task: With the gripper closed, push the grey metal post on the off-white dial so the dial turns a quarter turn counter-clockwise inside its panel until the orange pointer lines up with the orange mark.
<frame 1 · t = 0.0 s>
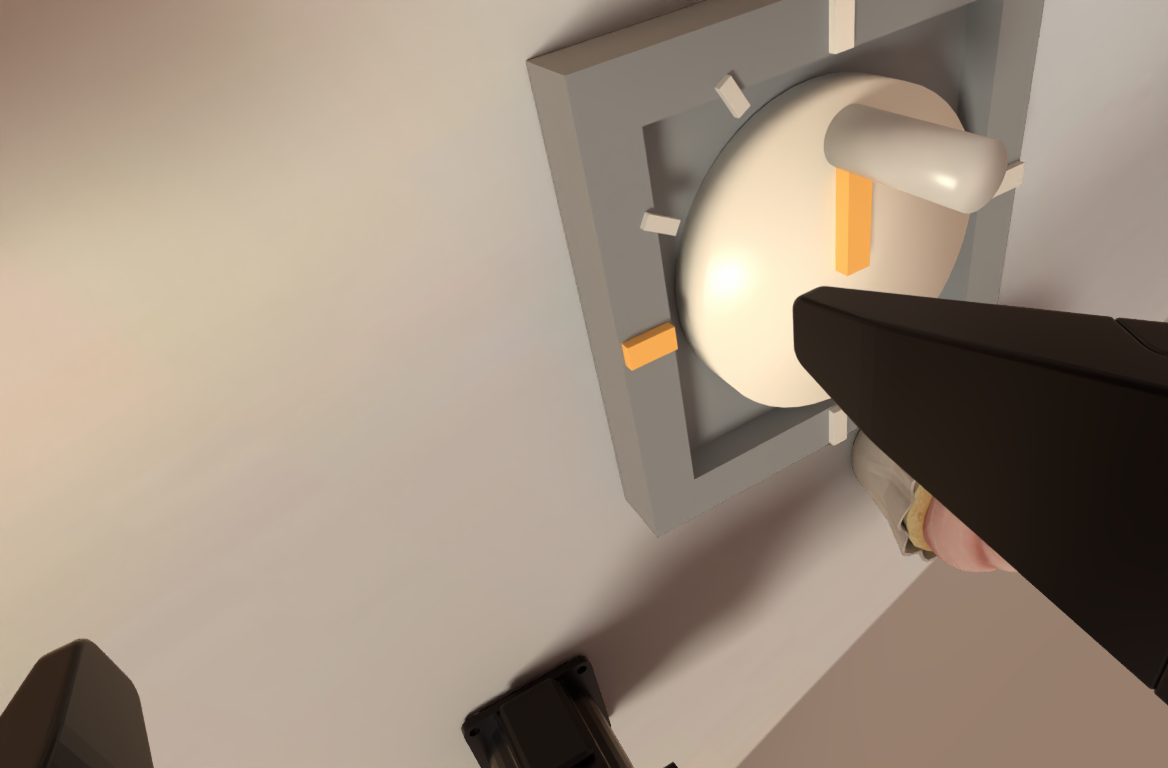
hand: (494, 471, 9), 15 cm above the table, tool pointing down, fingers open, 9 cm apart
dial panel: (789, 232, 29), on the table
dial: (880, 276, 26), point 5 cm above the table, hinge at 0.0°
cupcake: (892, 427, 39), on the table
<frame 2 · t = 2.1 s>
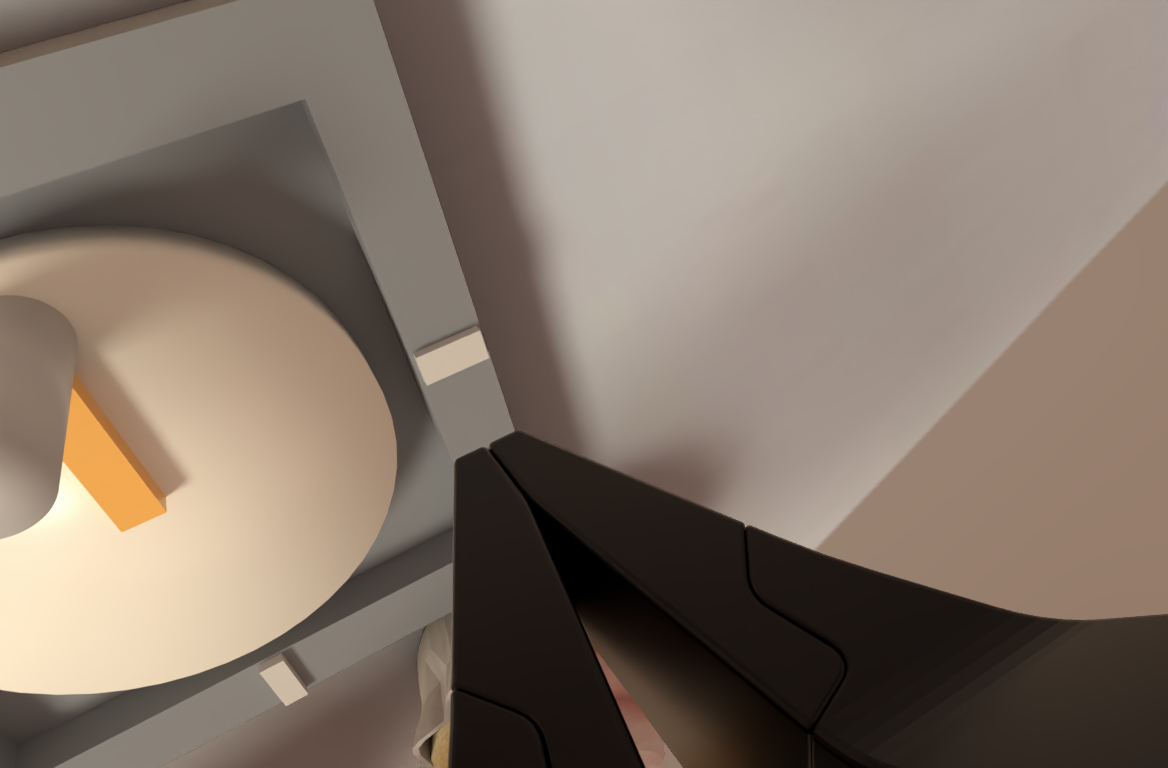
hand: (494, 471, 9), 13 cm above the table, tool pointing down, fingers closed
dial panel: (138, 431, 20), on the table
dial: (139, 544, 16), point 5 cm above the table, hinge at 0.0°
cupcake: (491, 621, 30), on the table
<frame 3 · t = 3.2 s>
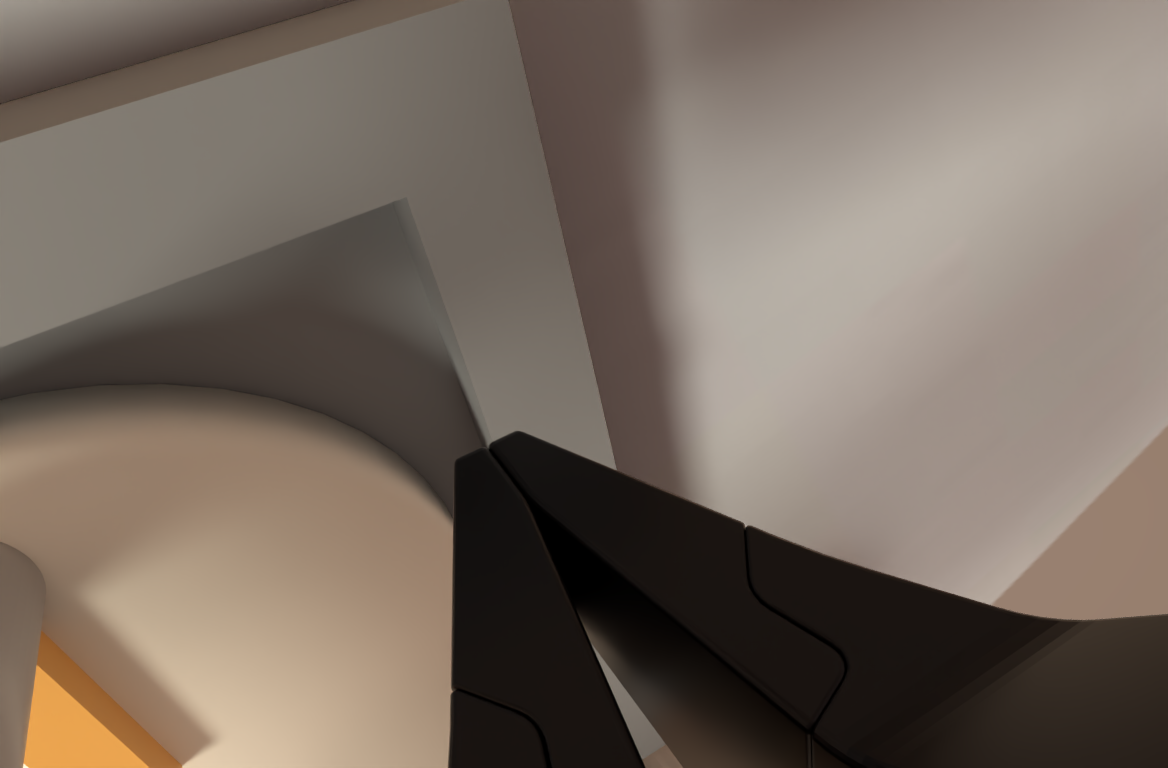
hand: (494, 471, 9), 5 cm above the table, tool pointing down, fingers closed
dial panel: (142, 634, 14), on the table
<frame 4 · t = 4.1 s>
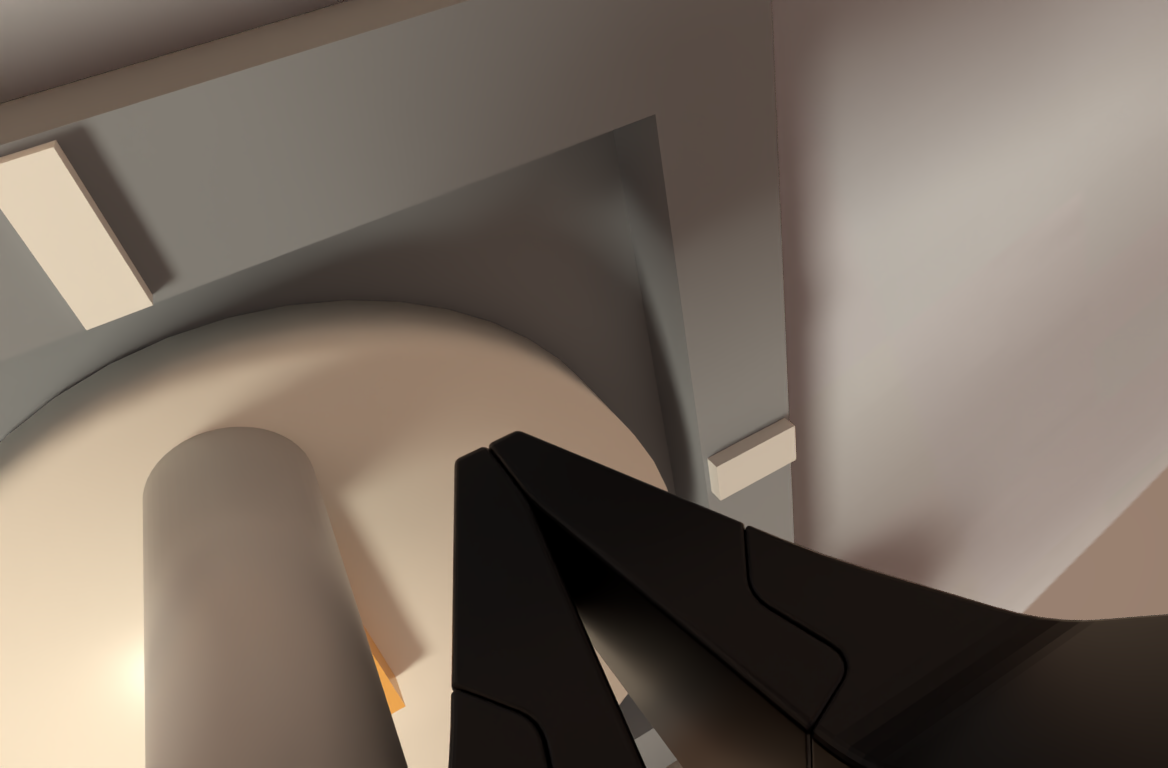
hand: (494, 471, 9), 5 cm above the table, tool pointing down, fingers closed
dial panel: (326, 562, 15), on the table
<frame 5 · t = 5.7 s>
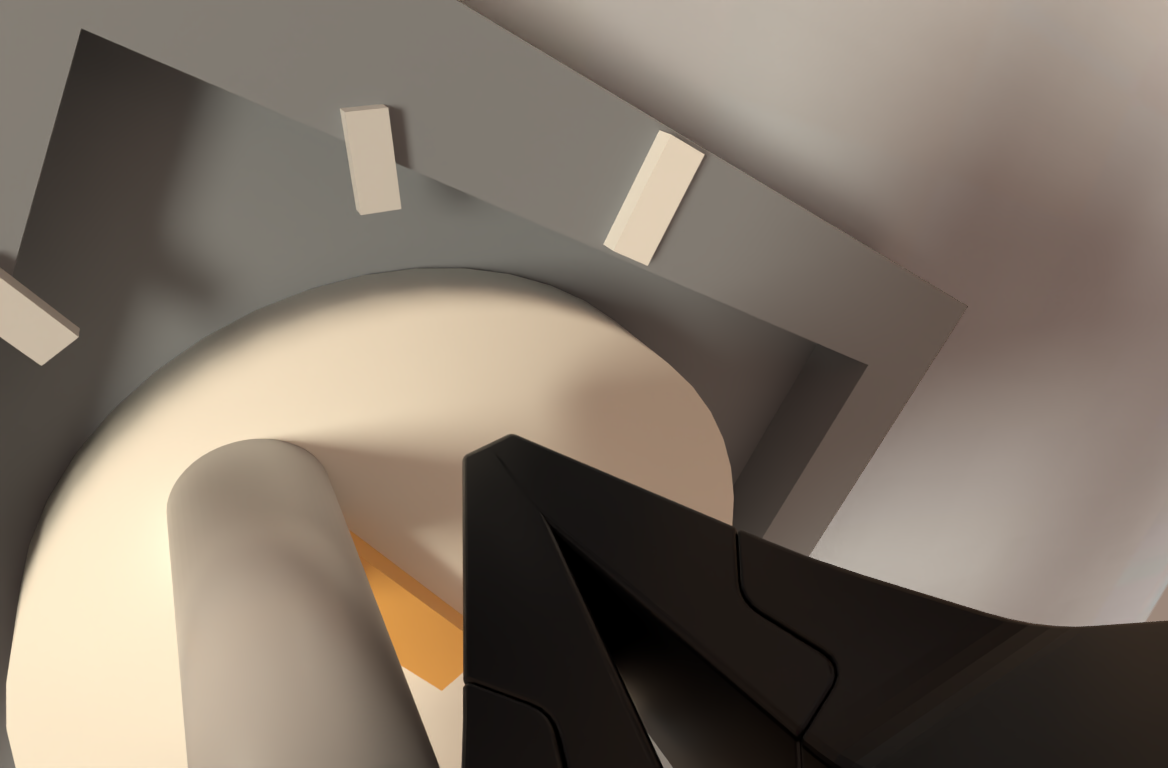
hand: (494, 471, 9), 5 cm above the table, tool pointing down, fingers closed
dial panel: (395, 530, 15), on the table
dial: (480, 713, 12), point 5 cm above the table, hinge at 60.5°, touching gripper
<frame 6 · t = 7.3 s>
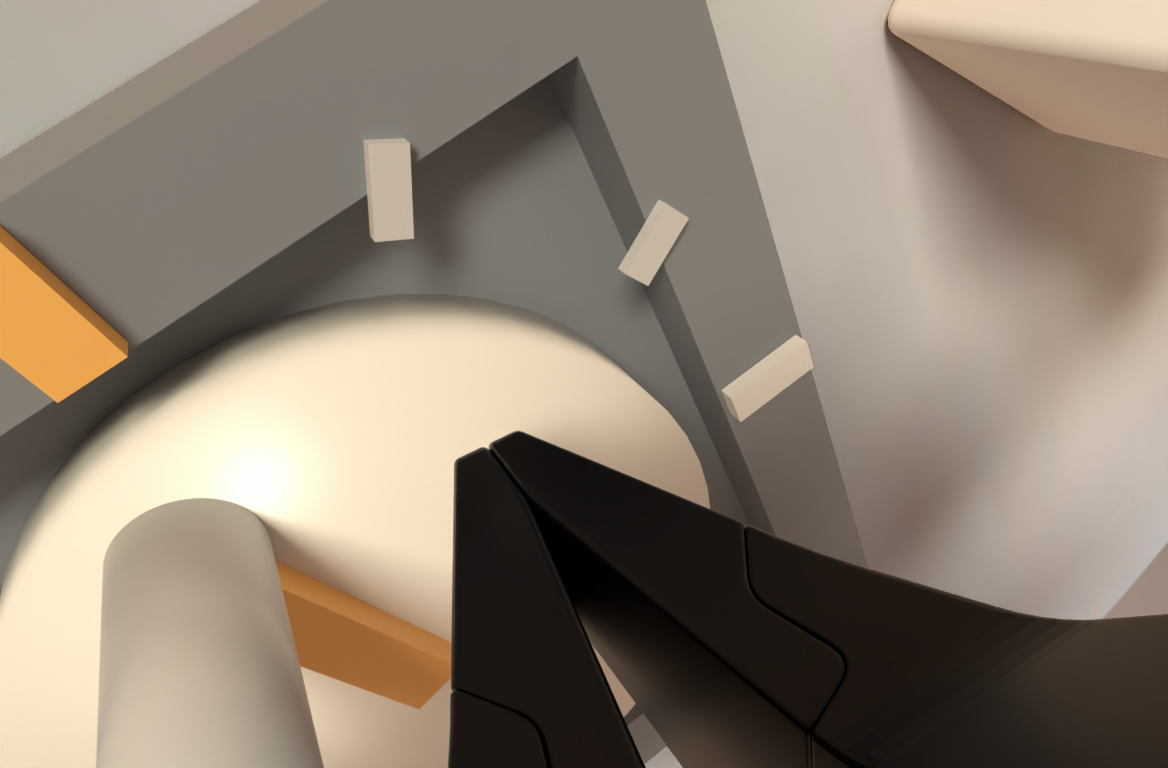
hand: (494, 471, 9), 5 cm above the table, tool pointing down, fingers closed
dial panel: (376, 545, 15), on the table
dial: (451, 734, 12), point 5 cm above the table, hinge at 102.1°
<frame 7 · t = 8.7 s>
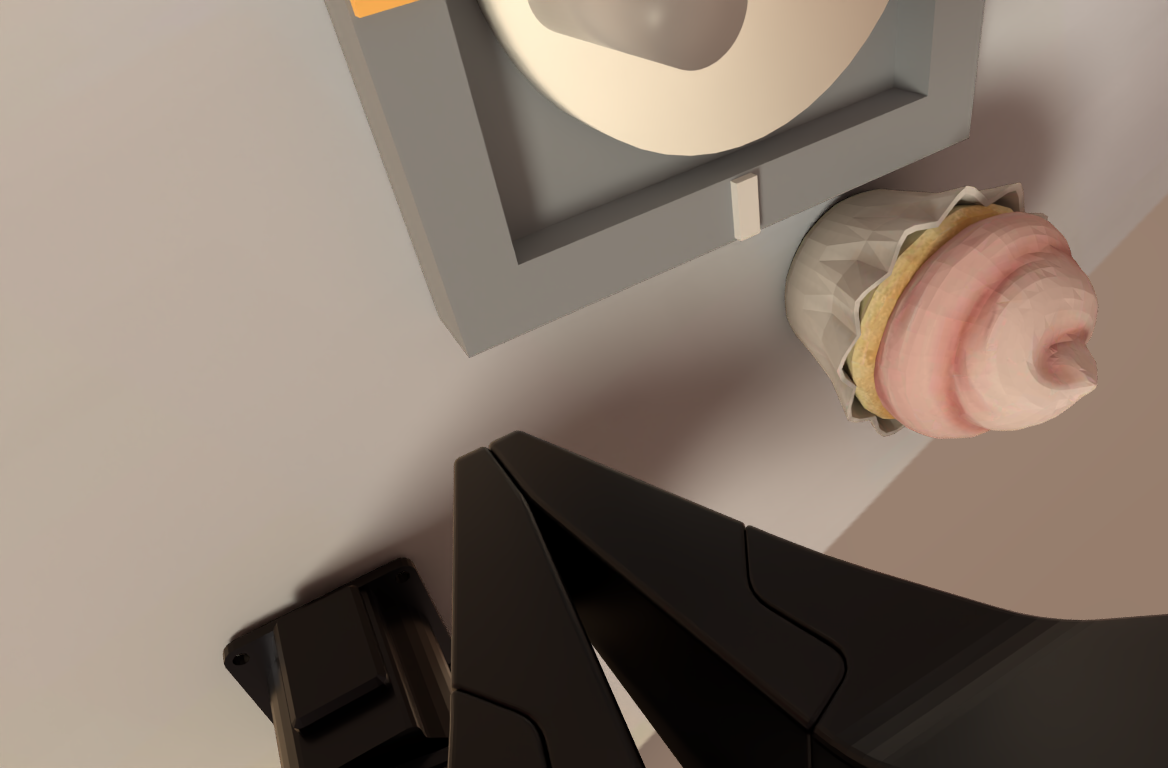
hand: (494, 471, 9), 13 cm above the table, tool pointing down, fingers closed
cupcake: (841, 265, 29), on the table
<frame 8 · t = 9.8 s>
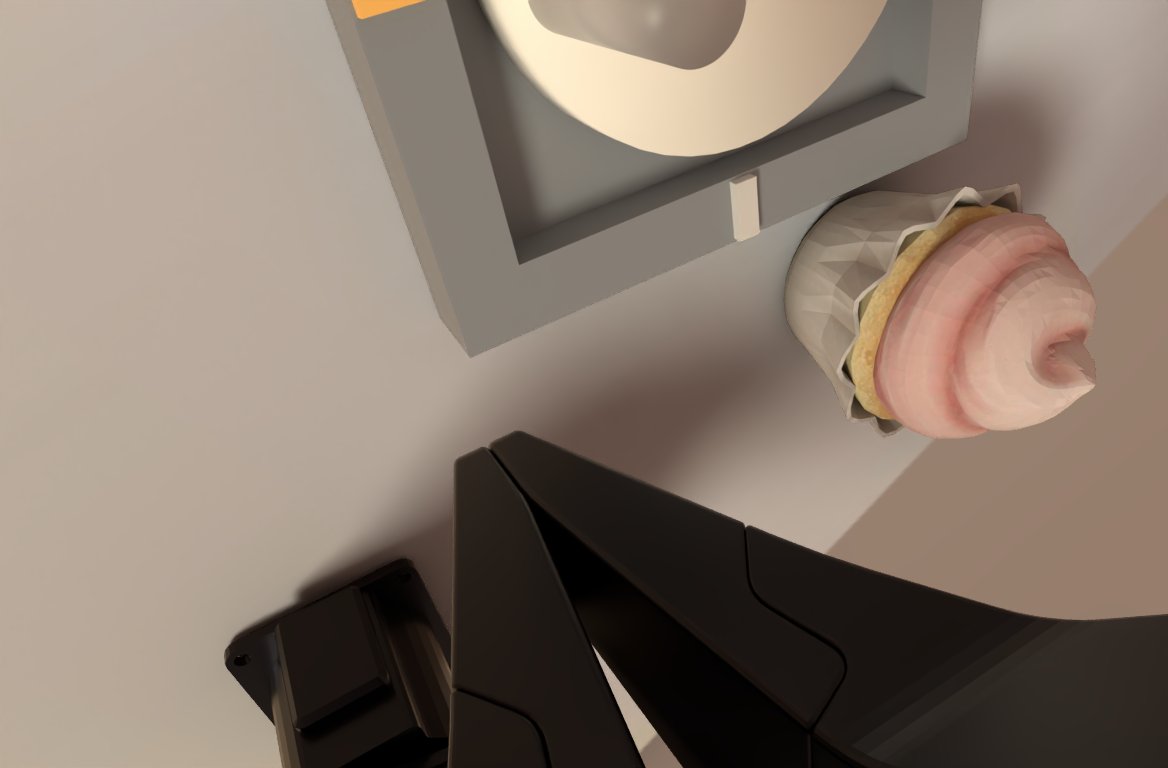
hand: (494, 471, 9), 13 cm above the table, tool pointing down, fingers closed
cupcake: (841, 266, 30), on the table
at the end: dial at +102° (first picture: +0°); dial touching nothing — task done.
